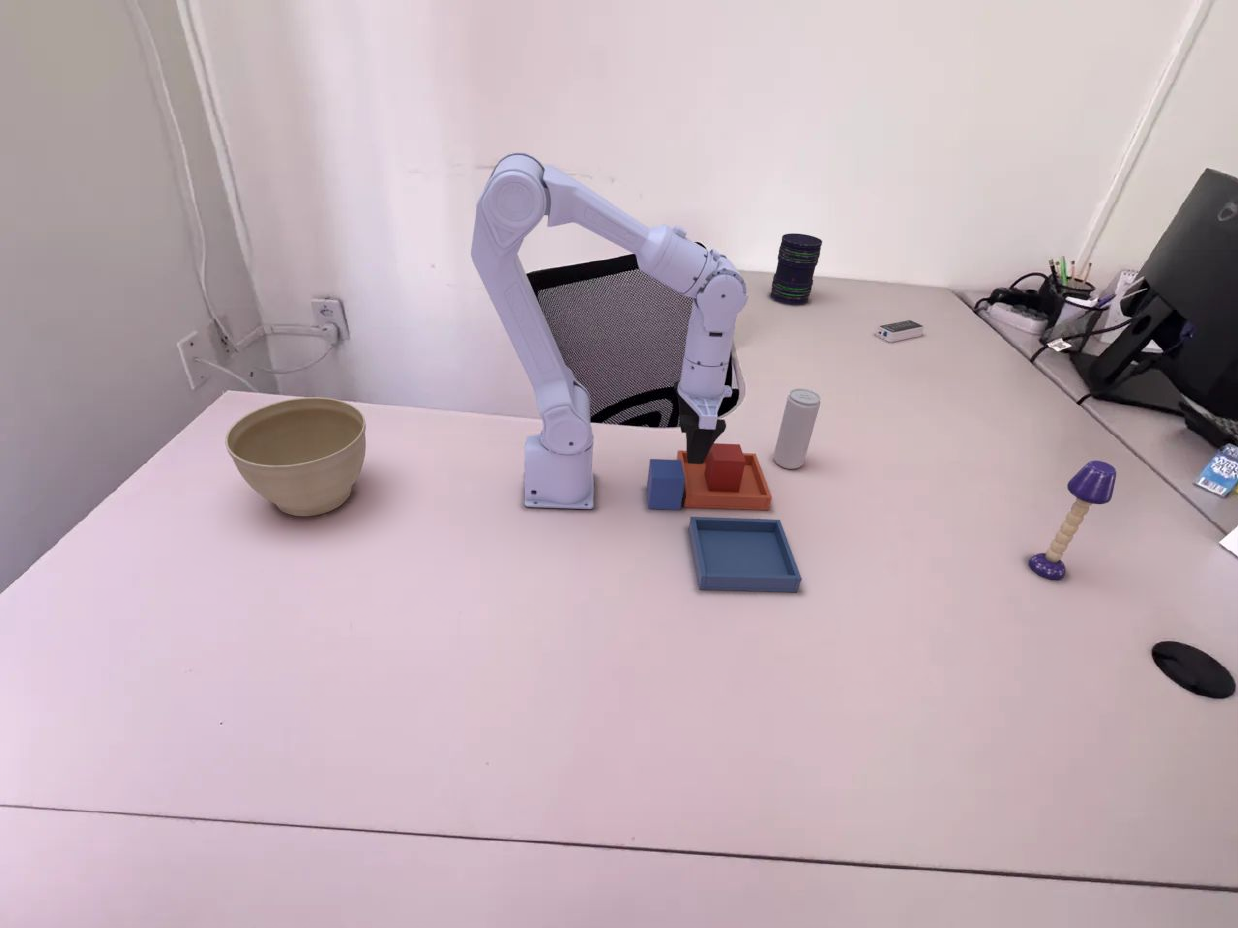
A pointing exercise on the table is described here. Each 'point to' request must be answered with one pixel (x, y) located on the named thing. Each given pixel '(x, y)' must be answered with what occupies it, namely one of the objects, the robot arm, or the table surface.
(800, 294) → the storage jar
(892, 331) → the multiport hub
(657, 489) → the blue block
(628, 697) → the table surface
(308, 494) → the planter bowl
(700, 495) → the orange tray
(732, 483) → the red block
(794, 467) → the beverage can
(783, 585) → the blue tray
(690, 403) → the robot arm
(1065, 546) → the toy lamp
